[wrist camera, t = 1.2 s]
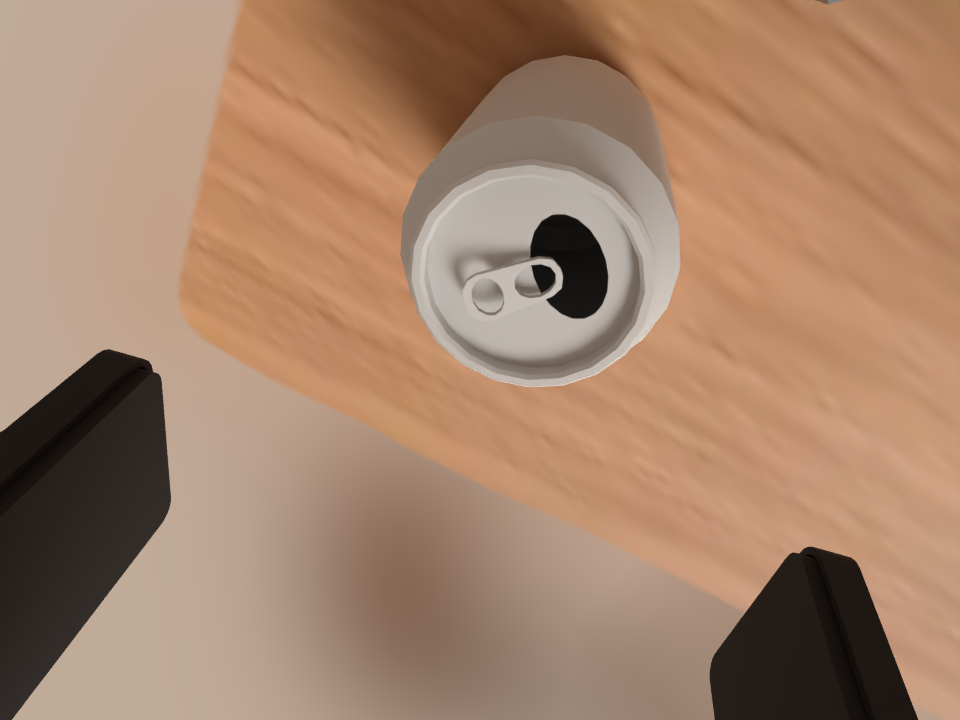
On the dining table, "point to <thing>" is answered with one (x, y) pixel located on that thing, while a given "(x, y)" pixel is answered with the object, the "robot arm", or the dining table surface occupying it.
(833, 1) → the parts tray
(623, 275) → the can
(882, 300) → the dining table surface
